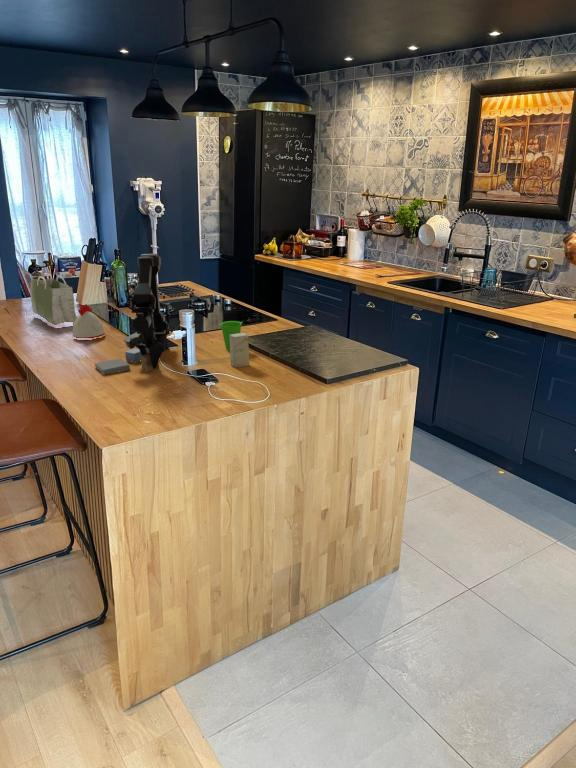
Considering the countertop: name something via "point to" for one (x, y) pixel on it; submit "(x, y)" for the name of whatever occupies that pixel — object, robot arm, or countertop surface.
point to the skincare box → (239, 350)
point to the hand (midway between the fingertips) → (150, 365)
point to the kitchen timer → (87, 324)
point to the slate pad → (112, 366)
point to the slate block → (133, 355)
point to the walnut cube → (147, 363)
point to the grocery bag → (53, 300)
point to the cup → (230, 331)
